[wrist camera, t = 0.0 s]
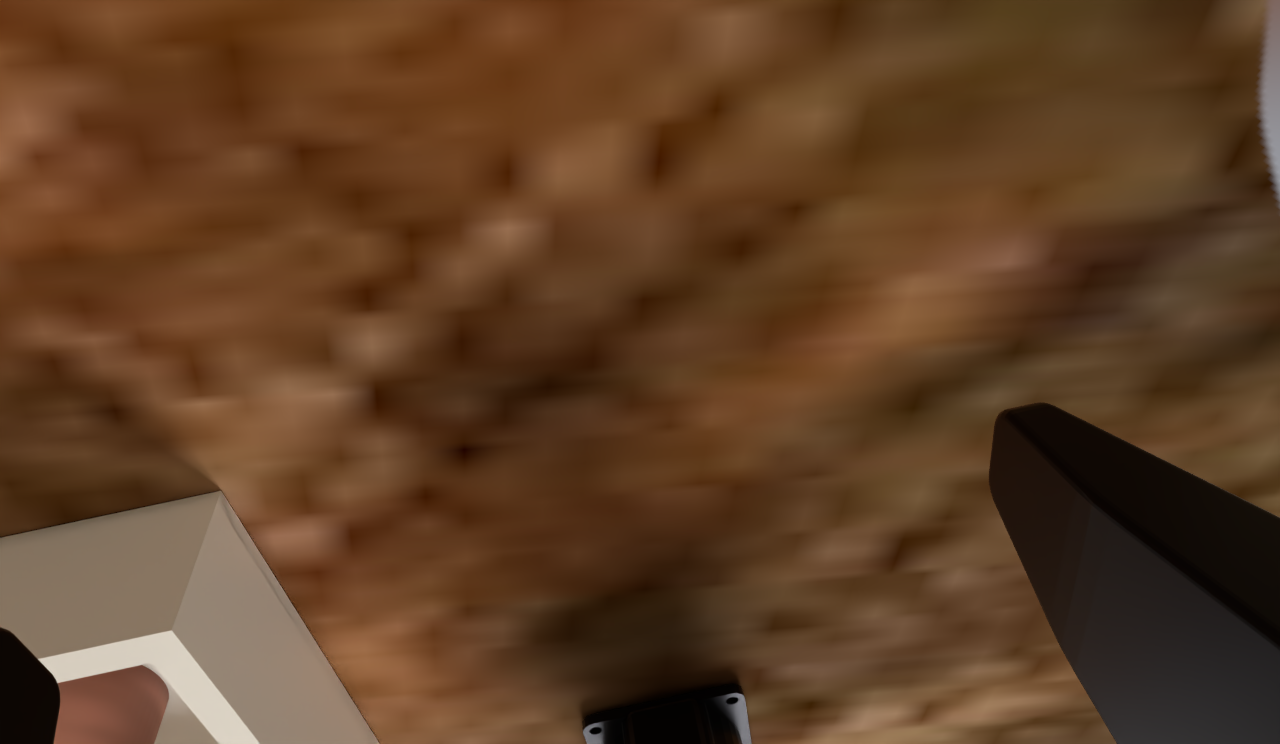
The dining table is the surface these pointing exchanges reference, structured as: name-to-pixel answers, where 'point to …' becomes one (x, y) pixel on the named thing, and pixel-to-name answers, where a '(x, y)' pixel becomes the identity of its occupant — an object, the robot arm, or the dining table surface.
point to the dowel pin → (112, 708)
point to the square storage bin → (178, 623)
